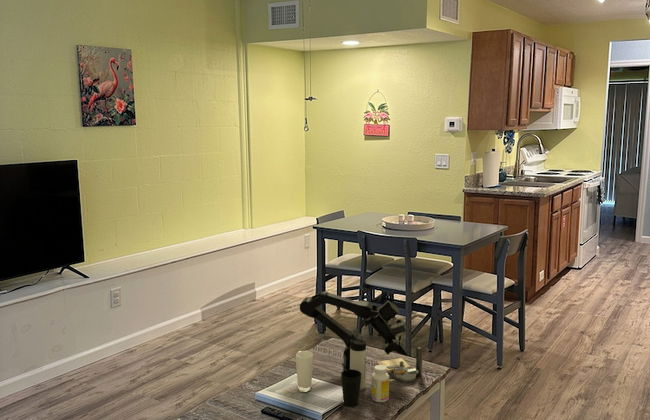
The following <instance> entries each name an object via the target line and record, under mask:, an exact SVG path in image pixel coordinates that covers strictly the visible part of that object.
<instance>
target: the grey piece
mask: <svg viewBox="0 0 650 420" xmlns="http://www.w3.org/2000/svg"><path fill="white" fill-rule="evenodd" d="M423 351H424V348H423V347H422V346H417V347H416V352H415V367H414V368H412V367H411V368H407V367H400V368H397V369H395V370H394V372H393V379H395V380H396V381H397V382H400V383H405V384H406V383H407V384H409V383H413V382H415V381H416V380H417V377H422V375H423V357H424V356H423V354H424V352H423ZM395 380H394V381H395Z"/></svg>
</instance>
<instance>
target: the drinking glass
mask: <svg viewBox="0 0 650 420" xmlns="http://www.w3.org/2000/svg"><path fill="white" fill-rule="evenodd" d="M295 368H296V380H297V387H298V386H299V387H303V388H308V387H310V386H311V387H312V379H313V372H314V354H313V352H312V351H308V350H300V351H297V352H296V355H295Z"/></svg>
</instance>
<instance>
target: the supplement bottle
mask: <svg viewBox="0 0 650 420" xmlns="http://www.w3.org/2000/svg"><path fill="white" fill-rule="evenodd" d="M373 370H374V371H373V372H372V374H371V391H370V392H371V394H370V396H371V399H372V401H374V402H376V403H385V402H387V401H388V400H389V398H390V381H389V380H390V375H389V374H390V373H387V372H386V371H387V367H386V366H384V365H377V364H376V365H375V366H374V369H373Z"/></svg>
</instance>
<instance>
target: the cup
mask: <svg viewBox="0 0 650 420" xmlns="http://www.w3.org/2000/svg"><path fill="white" fill-rule="evenodd" d="M361 375H362V374H361V372H359V371H357V370H353V369H348V370H347V369H344V370H343V371H341V373H340V377H341V378H340V379H341V389H342V390H341V391H342V401H343V400H344V404H343V406H345V407H347V408H355V407H357V406H358V405H359V399H360V392H361V391H360V384H361Z"/></svg>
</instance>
